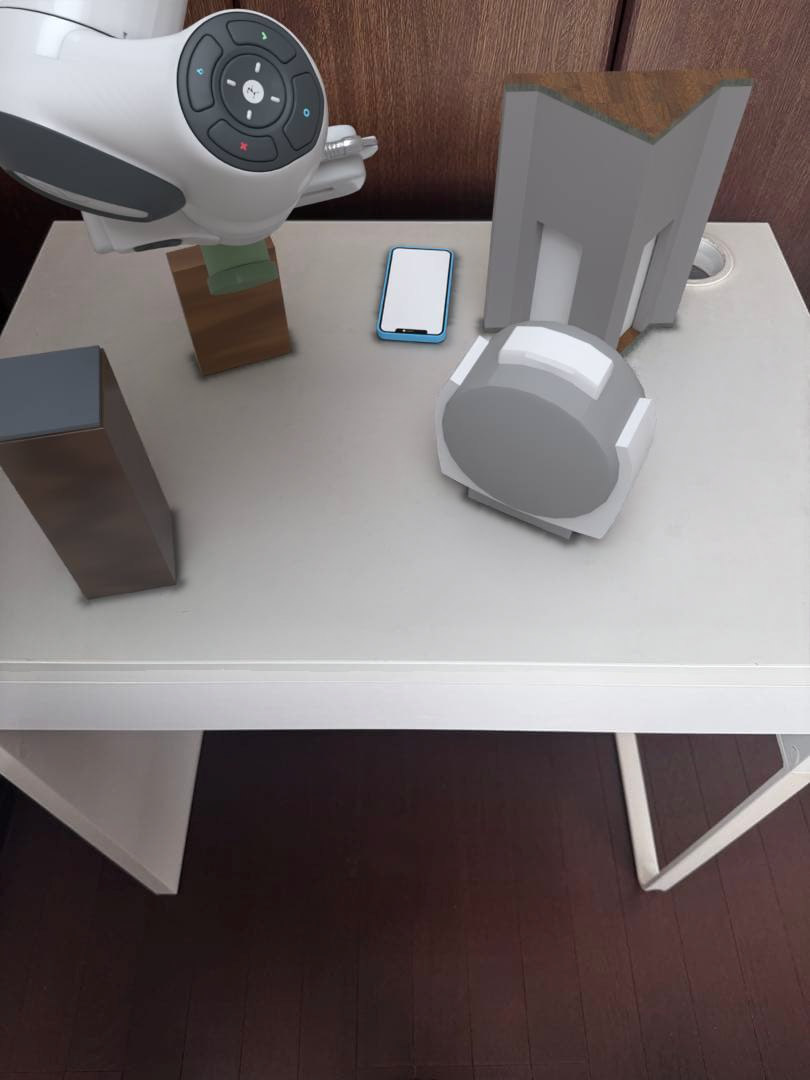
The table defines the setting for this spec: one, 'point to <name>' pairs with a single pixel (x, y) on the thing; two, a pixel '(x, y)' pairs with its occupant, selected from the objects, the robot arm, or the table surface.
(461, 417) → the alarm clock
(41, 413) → the mat
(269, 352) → the wooden block
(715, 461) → the table surface
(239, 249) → the toy
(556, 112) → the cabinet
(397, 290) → the smartphone
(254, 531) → the table surface
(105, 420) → the pedestal
